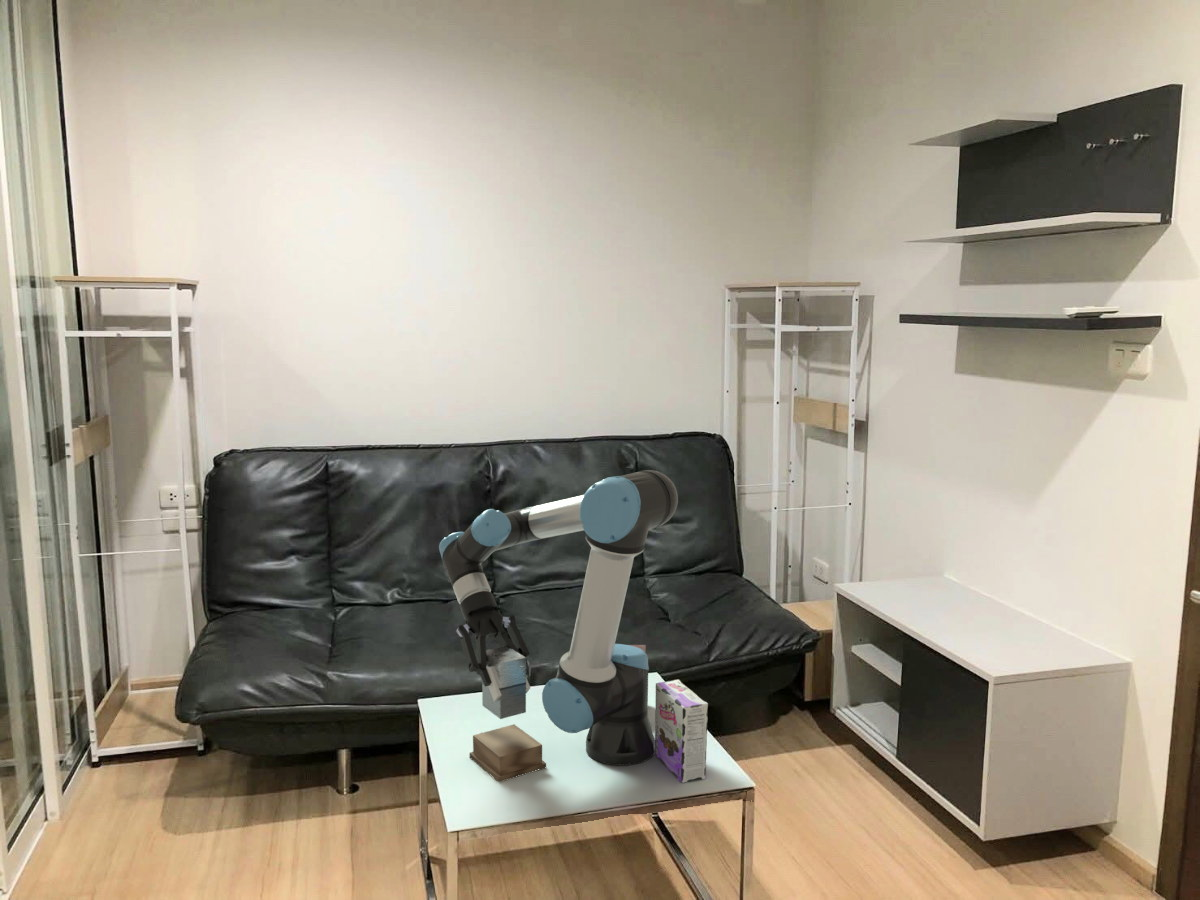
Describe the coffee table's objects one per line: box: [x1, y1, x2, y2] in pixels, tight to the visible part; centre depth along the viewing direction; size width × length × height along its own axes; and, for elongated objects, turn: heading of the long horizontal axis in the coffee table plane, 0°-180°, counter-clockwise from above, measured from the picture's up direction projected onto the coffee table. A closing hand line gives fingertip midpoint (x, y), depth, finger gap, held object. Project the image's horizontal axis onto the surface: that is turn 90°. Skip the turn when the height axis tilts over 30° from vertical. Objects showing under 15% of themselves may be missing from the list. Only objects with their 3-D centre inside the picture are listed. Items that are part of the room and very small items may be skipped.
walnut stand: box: [469, 724, 547, 783], centre depth 202 cm, size 11×13×5 cm
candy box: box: [654, 679, 709, 784], centre depth 200 cm, size 14×6×16 cm, turn 21°
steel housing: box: [481, 646, 527, 720], centre depth 200 cm, size 6×8×12 cm
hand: (512, 694), depth 198 cm, fingers closed on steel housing, 6 cm apart
